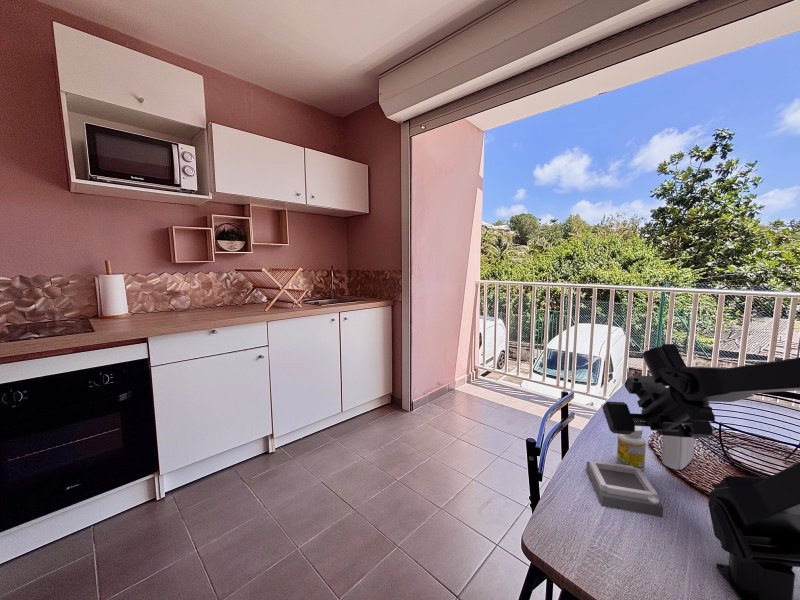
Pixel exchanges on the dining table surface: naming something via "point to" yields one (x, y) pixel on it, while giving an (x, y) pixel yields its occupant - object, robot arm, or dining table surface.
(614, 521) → the dining table surface
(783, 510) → the robot arm
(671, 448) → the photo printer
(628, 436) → the supplement bottle
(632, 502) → the grey square tray
